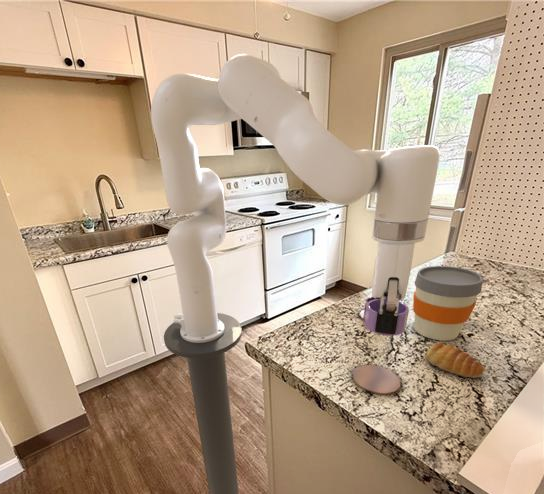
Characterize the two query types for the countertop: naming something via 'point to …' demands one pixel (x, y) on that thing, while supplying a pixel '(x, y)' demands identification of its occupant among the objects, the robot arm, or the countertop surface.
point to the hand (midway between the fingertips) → (384, 321)
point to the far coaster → (362, 314)
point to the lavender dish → (374, 307)
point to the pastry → (454, 360)
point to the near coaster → (376, 379)
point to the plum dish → (367, 302)
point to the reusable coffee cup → (444, 300)
